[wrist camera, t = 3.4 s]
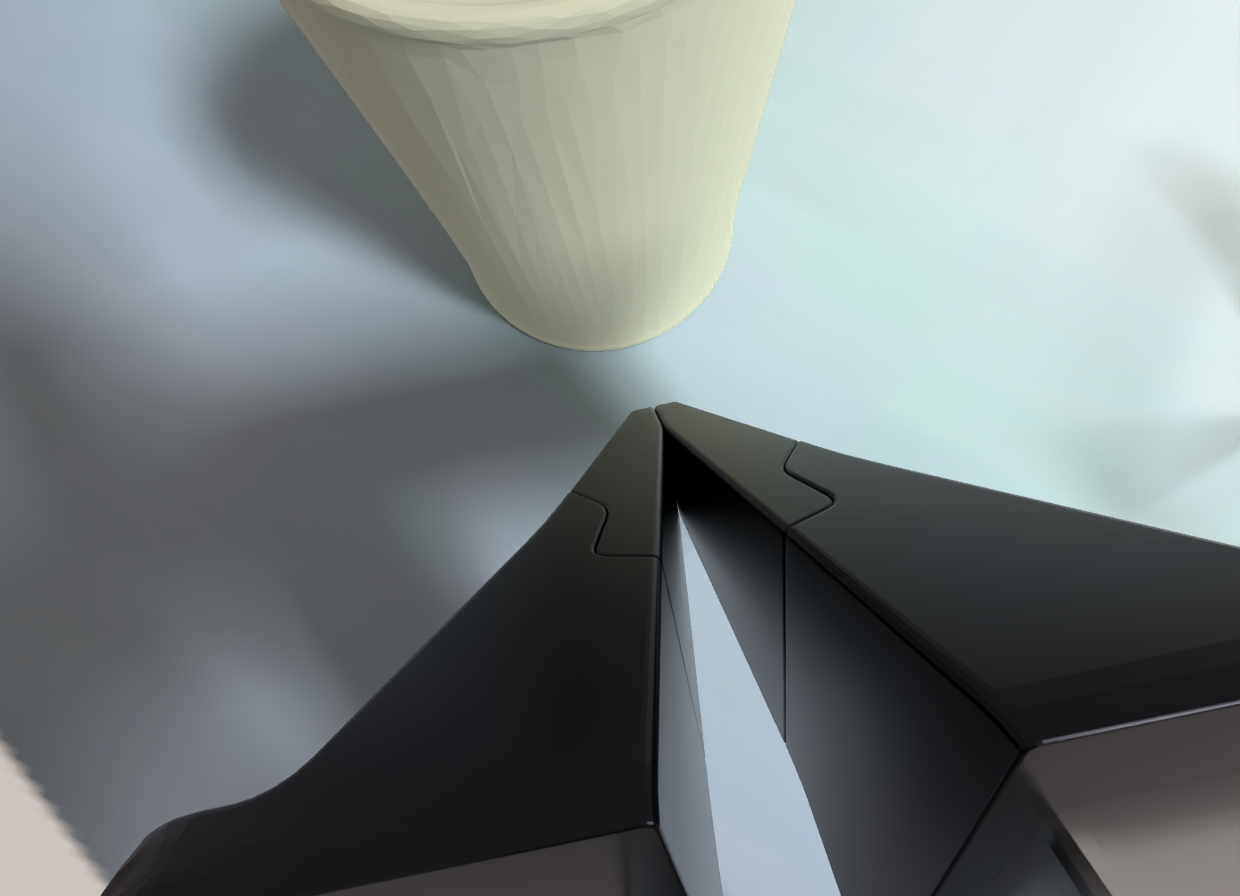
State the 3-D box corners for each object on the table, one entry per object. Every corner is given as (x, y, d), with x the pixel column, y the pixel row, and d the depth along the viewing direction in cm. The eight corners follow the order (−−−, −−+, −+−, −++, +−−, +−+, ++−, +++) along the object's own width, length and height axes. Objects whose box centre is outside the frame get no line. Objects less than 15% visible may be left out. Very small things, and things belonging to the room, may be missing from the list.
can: (774, 154, 18) (1031, -581, 6) (667, 395, 17) (715, 106, 5) (534, 68, 19) (335, -717, 7) (421, 291, 18) (-36, -160, 6)
